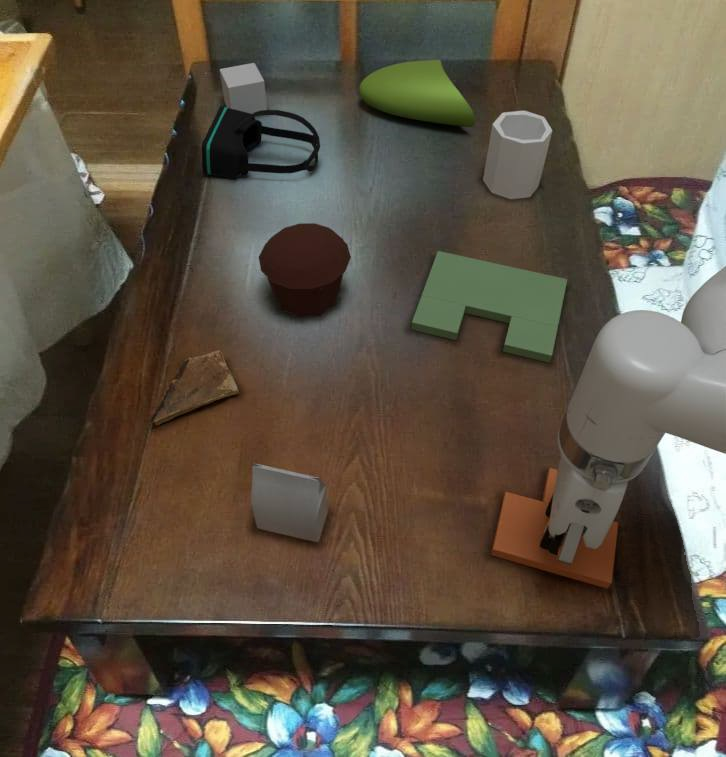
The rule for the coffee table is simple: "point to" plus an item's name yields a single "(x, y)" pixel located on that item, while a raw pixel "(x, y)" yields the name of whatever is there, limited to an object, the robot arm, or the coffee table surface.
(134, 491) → the coffee table surface
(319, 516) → the grey piece
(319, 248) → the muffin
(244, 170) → the virtual reality headset
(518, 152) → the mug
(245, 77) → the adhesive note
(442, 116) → the green curved wedge
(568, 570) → the tab pad
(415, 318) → the notch pad
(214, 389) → the shard
